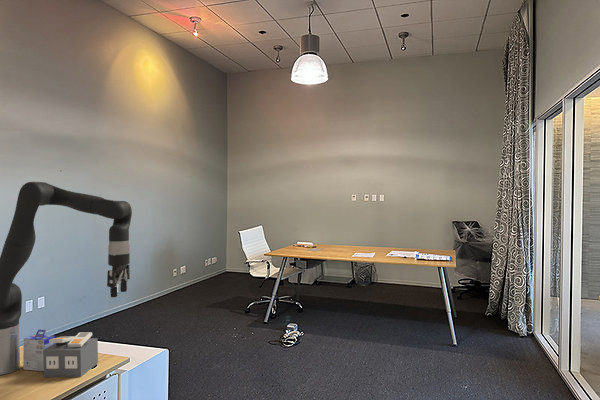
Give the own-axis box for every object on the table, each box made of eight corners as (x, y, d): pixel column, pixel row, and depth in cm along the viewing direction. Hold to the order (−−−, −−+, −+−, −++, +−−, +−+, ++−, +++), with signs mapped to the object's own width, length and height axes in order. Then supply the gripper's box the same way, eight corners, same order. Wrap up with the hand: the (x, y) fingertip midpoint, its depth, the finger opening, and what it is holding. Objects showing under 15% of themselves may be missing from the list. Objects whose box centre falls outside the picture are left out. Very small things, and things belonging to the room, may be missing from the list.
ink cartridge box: (56, 365, 157) (55, 329, 157) (44, 372, 152) (43, 334, 152) (34, 364, 159) (34, 328, 159) (22, 370, 154) (21, 332, 154)
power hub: (43, 377, 147) (42, 348, 147) (63, 363, 159) (62, 336, 159) (80, 377, 147) (79, 348, 147) (98, 363, 159) (97, 336, 159)
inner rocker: (49, 342, 149) (49, 339, 149) (62, 339, 157) (62, 336, 157) (62, 342, 149) (62, 339, 149) (74, 339, 157) (74, 336, 157)
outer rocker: (68, 346, 149) (67, 343, 149) (79, 335, 157) (79, 332, 157) (81, 346, 149) (80, 343, 149) (92, 335, 157) (91, 332, 157)
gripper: (117, 250, 160) (117, 290, 160) (100, 255, 146) (100, 299, 146) (136, 250, 160) (135, 290, 160) (120, 255, 146) (120, 299, 146)
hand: (118, 294), depth 153 cm, fingers open, 8 cm apart
